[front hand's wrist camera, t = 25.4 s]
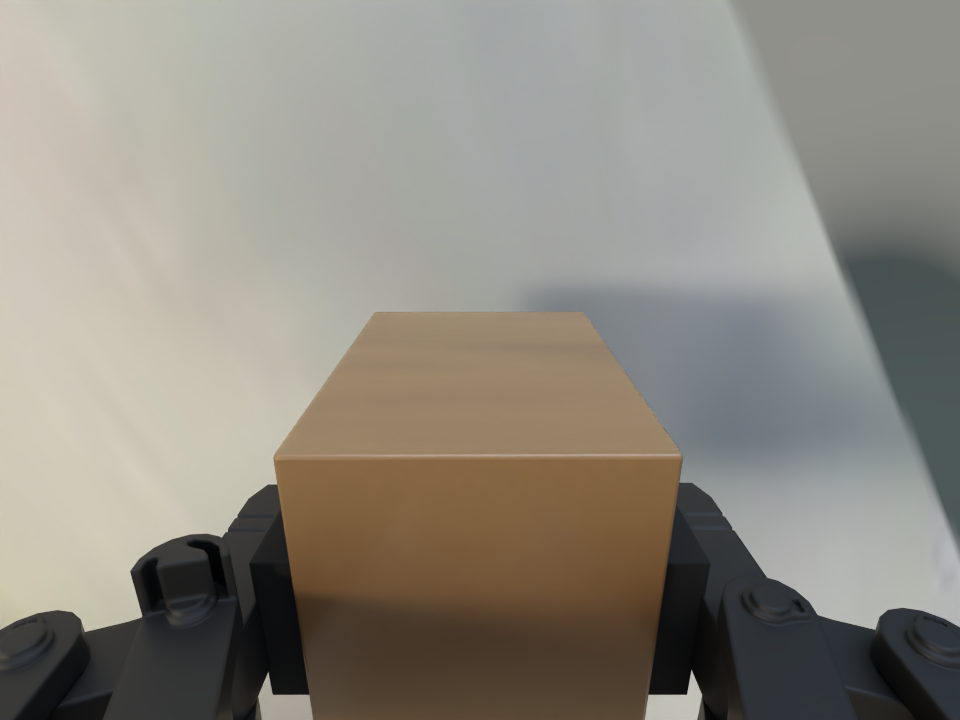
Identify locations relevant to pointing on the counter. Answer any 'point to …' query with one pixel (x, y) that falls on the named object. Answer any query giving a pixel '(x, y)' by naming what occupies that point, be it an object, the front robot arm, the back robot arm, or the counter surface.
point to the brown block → (478, 523)
